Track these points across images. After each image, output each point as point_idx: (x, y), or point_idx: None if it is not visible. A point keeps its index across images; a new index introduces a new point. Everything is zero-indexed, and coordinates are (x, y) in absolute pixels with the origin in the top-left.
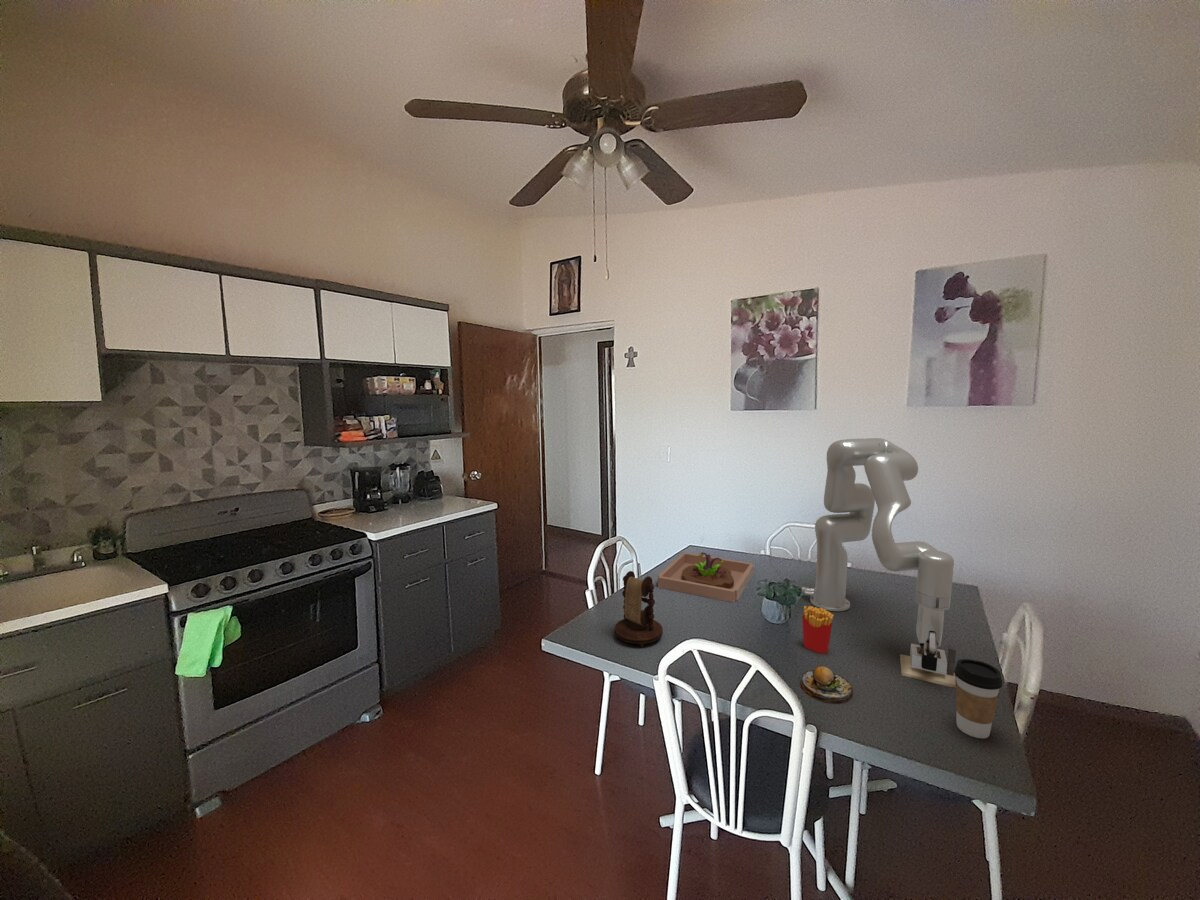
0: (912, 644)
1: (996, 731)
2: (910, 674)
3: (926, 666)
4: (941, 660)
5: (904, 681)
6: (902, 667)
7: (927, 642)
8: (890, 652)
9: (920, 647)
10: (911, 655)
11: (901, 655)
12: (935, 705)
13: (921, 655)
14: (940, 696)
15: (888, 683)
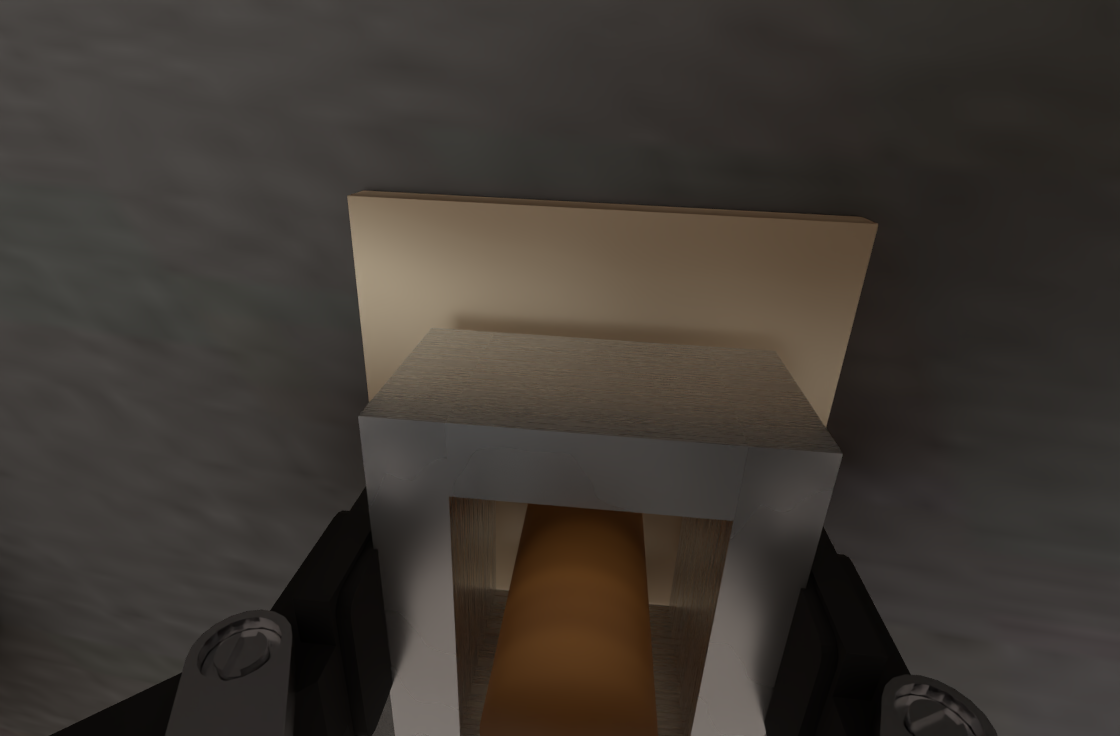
0: (802, 473)
1: (3, 695)
2: (360, 293)
3: (342, 516)
4: (410, 731)
5: (247, 211)
6: (484, 218)
7: (819, 734)
8: (966, 91)
9: (724, 571)
10: (524, 386)
11: (835, 237)
12: (11, 429)
13: (425, 541)
14: (188, 488)
15: (70, 10)
